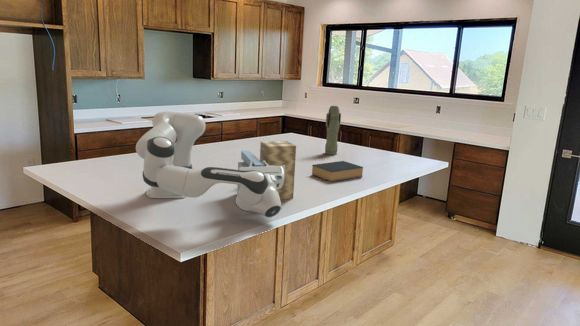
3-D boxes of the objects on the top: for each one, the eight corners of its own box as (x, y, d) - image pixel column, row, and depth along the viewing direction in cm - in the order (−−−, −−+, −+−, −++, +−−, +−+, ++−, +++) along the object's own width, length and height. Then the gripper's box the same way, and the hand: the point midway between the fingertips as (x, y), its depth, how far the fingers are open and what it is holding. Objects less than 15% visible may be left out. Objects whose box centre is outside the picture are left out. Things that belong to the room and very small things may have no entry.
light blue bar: (254, 173, 192) (255, 164, 191) (241, 158, 216) (241, 150, 215) (263, 173, 194) (263, 164, 193) (248, 158, 217) (249, 150, 216)
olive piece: (320, 153, 320) (324, 105, 312) (332, 151, 327) (336, 105, 319) (328, 155, 313) (332, 107, 305) (340, 154, 320) (344, 106, 312)
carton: (265, 200, 207) (268, 146, 201) (258, 192, 218) (260, 141, 212) (293, 198, 212) (296, 145, 206) (284, 191, 223) (287, 140, 217)
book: (311, 175, 257) (312, 164, 256) (342, 171, 272) (343, 160, 271) (331, 182, 244) (331, 171, 242) (362, 177, 259) (363, 167, 257)
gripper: (239, 190, 185) (233, 167, 194) (285, 187, 192) (277, 165, 201) (241, 179, 180) (235, 157, 190) (288, 177, 187) (279, 155, 197)
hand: (257, 161), depth 195 cm, fingers closed on light blue bar, 4 cm apart
